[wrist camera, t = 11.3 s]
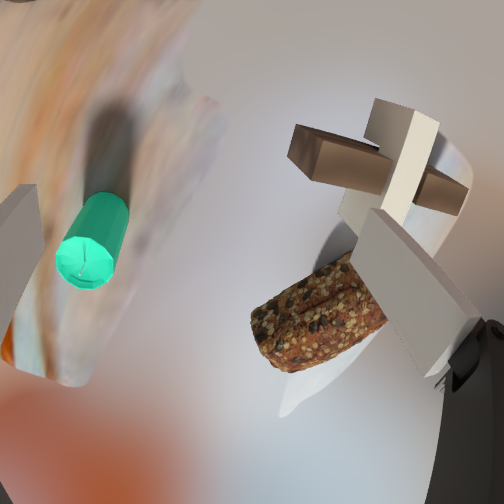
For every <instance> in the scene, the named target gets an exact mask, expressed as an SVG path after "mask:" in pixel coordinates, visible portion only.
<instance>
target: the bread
mask: <svg viewBox="0 0 504 504" xmlns="http://www.w3.org/2000/svg"><path fill="white" fill-rule="evenodd" d="M352 253H353V252H350V253H345V255H344V256H343V257H342V258H341V259H339V260H338V261H335V262H333V263H331V264H330V265H327V266H324V267H323V268H321V269H320V270H317V271H316V272H315V273H313V274H311V275H309V276H308V277H306V278H304V279H303V280H301V281H299V282H297V283H296V284H294V285H292V286H290V287H289V288H287V289H285V290H283V291H282V292H281V293H280V294H279V295H277V296H275V297H274V298H273V299H271V300H269V301H268V302H267V303H266V304H263V305H262V306H260V307H257V308H256V309H255V310H253V312H252V313H251V320H252V321H251V323H250V324H251V325H252V326H251V328H252V331H253V335H254V337H255V341H256V343H257V345H258V347H259V350H260V352H261V354H262V355H263V356H265V357H266V358H267V359H268V360H269V361H270V363H271V365H272V366H273V367H275V368H279V369H280V370H281V371H283V372H288V373H294V372H297V371H300V370H301V371H302V370H305V369H307V368H310V367H313V366H315V365H318V364H321V363H323V362H326V361H328V360H330V359H332V358H335V357H336V356H337V355H338V354H340V353H341V352H344V351H346V350H347V349H349V348H351V347H352V346H354V345H355V344H358V343H360V342H361V341H362V340H363V339H365V338H366V337H367V336H368V335H369V334H372V333H374V331H377V330H378V329H380V328H381V327H382V326H383V325H384V324H385V323H386V322H387V321H388V319H387V317H386V316H385V314H384V312H383V311H382V309H381V308H380V306H379V305H378V303H377V302H376V300H375V299H374V297H373V296H372V294H371V293H370V291H369V289H368V288H367V286H366V285H365V283H364V282H363V281H362V279H361V278H360V276H359V275H358V273H357V272H356V270H355V269H354V267H353V266H352V264H351V263H350V261H349V260H350V258H351V255H352Z"/></svg>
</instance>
